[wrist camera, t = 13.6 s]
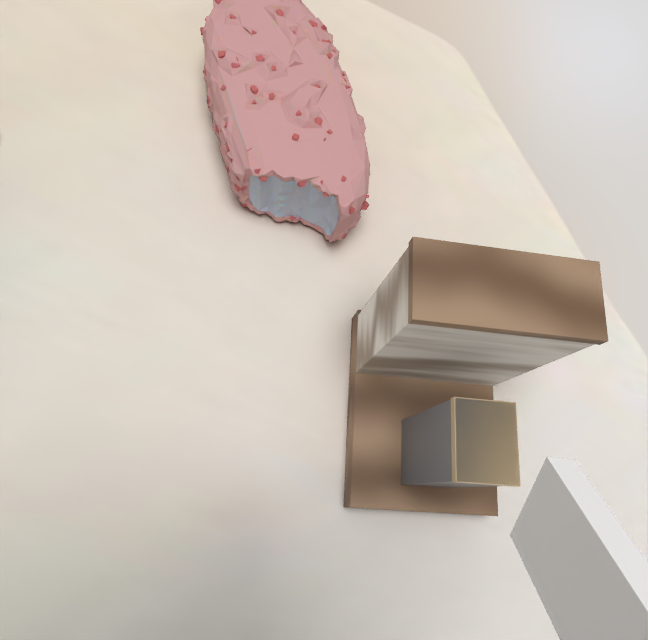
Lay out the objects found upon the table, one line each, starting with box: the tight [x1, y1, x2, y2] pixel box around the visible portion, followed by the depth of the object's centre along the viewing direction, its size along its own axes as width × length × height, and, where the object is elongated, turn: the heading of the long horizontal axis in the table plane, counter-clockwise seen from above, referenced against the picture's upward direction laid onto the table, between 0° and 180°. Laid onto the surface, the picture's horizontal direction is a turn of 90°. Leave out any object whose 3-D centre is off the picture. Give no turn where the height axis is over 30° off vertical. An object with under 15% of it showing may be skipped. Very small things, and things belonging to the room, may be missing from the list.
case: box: [401, 397, 520, 488], centre depth 38 cm, size 5×4×11 cm
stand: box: [344, 237, 608, 516], centre depth 39 cm, size 16×12×17 cm
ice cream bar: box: [200, 0, 370, 243], centre depth 50 cm, size 13×9×30 cm
